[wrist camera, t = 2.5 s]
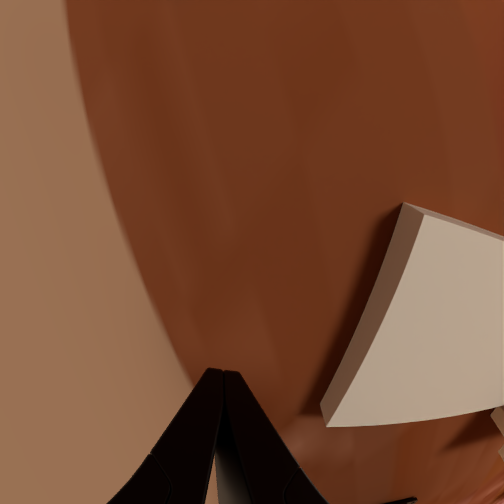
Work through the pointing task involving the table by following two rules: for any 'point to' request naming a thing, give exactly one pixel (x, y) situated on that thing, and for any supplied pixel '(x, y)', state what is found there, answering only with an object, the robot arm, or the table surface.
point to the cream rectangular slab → (499, 424)
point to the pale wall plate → (426, 328)
